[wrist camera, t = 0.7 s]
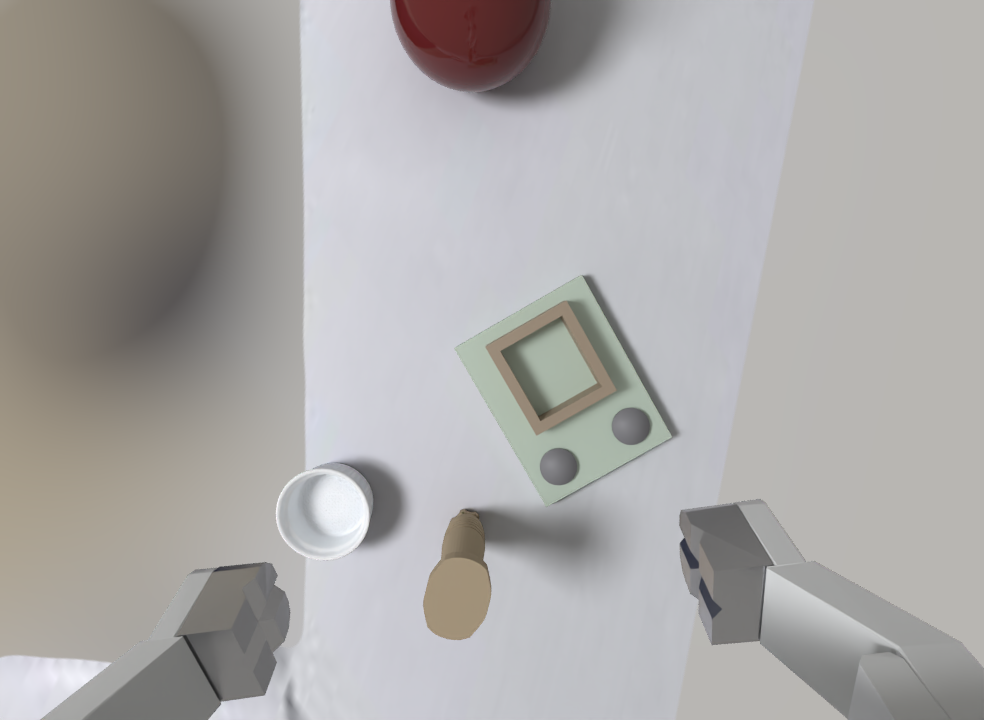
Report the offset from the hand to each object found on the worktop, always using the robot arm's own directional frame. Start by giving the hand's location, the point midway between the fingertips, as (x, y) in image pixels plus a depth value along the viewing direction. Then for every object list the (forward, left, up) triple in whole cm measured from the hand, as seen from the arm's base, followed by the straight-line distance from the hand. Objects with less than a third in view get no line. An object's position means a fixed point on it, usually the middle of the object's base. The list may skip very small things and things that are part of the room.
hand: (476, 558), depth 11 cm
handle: (-13, +10, -45) cm, 48 cm away
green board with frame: (-6, -5, -45) cm, 45 cm away
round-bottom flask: (+27, -14, -45) cm, 54 cm away
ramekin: (-4, +21, -45) cm, 50 cm away
